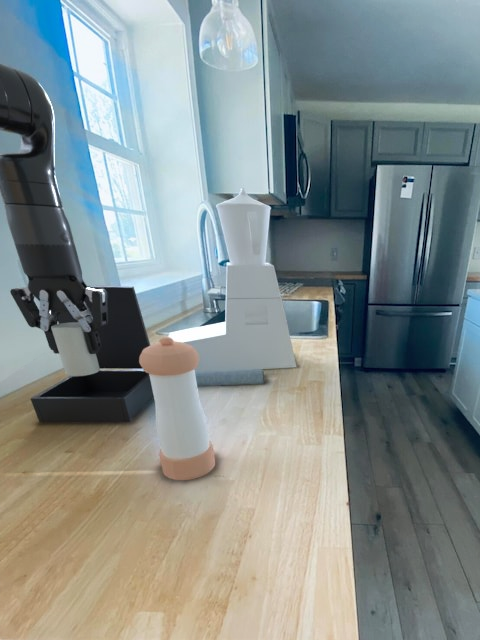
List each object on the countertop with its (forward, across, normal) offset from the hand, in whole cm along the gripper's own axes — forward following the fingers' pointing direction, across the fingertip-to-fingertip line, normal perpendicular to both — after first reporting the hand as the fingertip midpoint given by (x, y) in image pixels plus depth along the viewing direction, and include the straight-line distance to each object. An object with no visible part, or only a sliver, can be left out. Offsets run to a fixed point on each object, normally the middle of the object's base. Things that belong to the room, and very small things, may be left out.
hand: (77, 352), depth 63 cm
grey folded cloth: (+12, -18, -18) cm, 28 cm away
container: (+3, 0, 0) cm, 3 cm away
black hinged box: (+12, 0, -4) cm, 13 cm away
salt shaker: (+12, -22, +18) cm, 31 cm away
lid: (-2, 0, -10) cm, 10 cm away
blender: (+12, -19, -34) cm, 41 cm away
